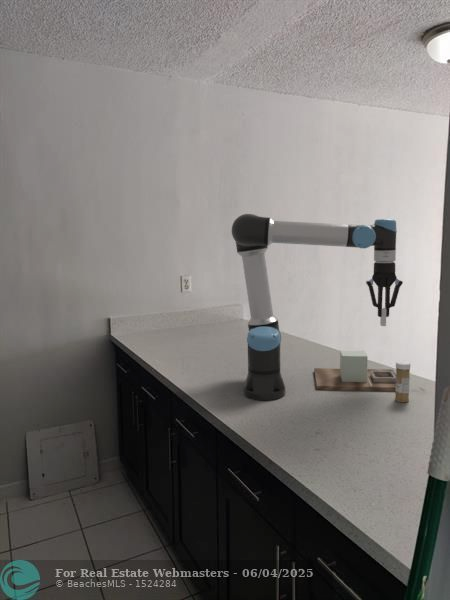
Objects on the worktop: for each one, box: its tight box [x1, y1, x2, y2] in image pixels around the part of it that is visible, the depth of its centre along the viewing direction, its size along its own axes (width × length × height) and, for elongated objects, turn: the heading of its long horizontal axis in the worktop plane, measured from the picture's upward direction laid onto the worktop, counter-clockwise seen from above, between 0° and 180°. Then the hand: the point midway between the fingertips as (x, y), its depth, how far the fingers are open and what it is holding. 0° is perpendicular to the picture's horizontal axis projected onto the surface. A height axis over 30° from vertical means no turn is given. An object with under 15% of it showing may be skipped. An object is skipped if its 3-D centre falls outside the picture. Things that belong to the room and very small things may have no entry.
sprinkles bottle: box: [394, 360, 411, 403], centre depth 161 cm, size 5×5×13 cm
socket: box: [370, 371, 396, 383], centre depth 180 cm, size 8×8×2 cm
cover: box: [339, 350, 368, 382], centre depth 181 cm, size 9×8×10 cm
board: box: [313, 367, 396, 392], centre depth 183 cm, size 31×22×8 cm
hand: (383, 325), depth 177 cm, fingers closed
